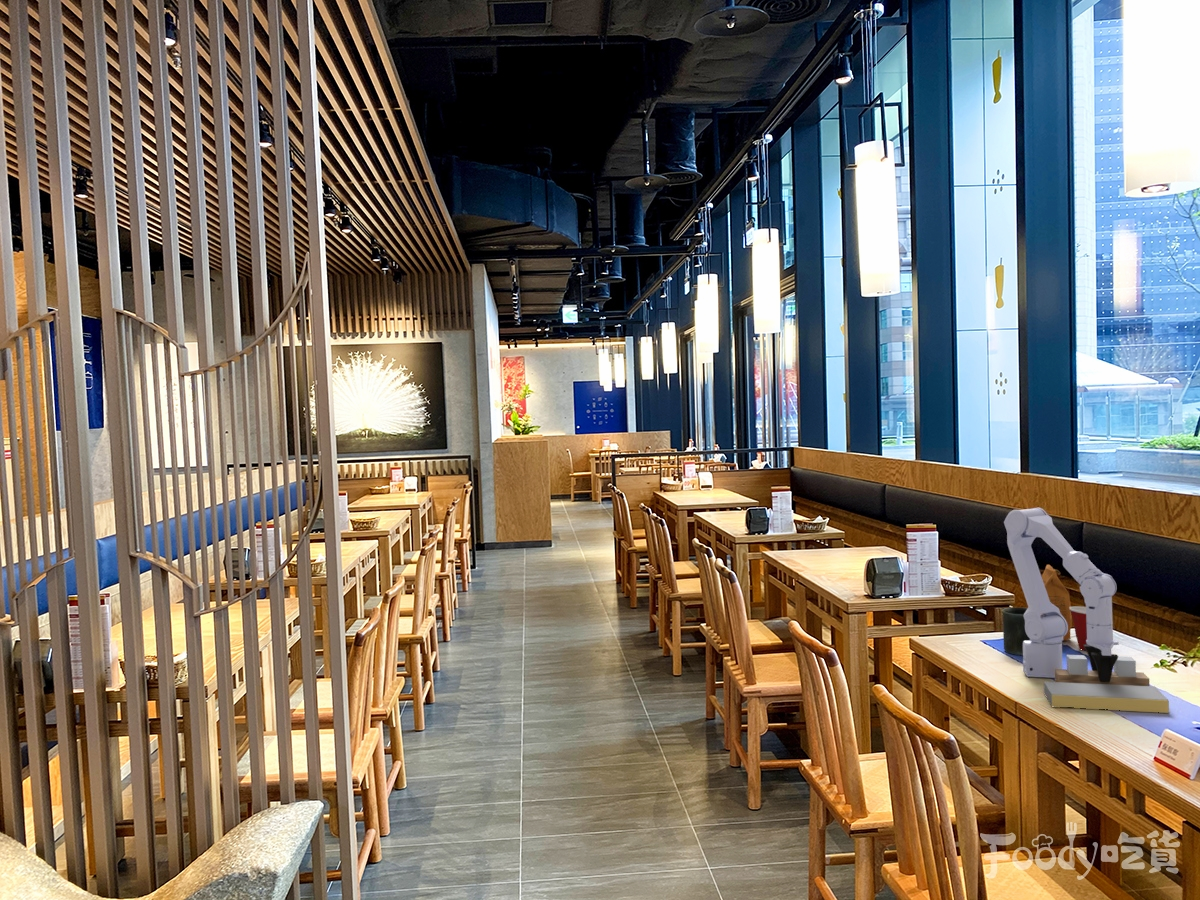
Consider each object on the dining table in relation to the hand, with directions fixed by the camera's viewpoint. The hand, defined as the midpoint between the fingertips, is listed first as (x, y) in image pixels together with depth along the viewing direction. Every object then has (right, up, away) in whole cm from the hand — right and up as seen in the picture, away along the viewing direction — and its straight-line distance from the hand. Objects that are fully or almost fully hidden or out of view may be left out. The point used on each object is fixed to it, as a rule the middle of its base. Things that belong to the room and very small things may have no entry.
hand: (1101, 677), depth 226 cm
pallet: (0, -3, 0) cm, 3 cm away
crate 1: (-5, +1, +2) cm, 5 cm away
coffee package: (+15, -1, +53) cm, 55 cm away
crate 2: (+5, +1, -2) cm, 5 cm away
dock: (-6, -3, -12) cm, 13 cm away
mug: (-1, -2, +39) cm, 40 cm away
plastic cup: (+18, -1, +37) cm, 42 cm away
